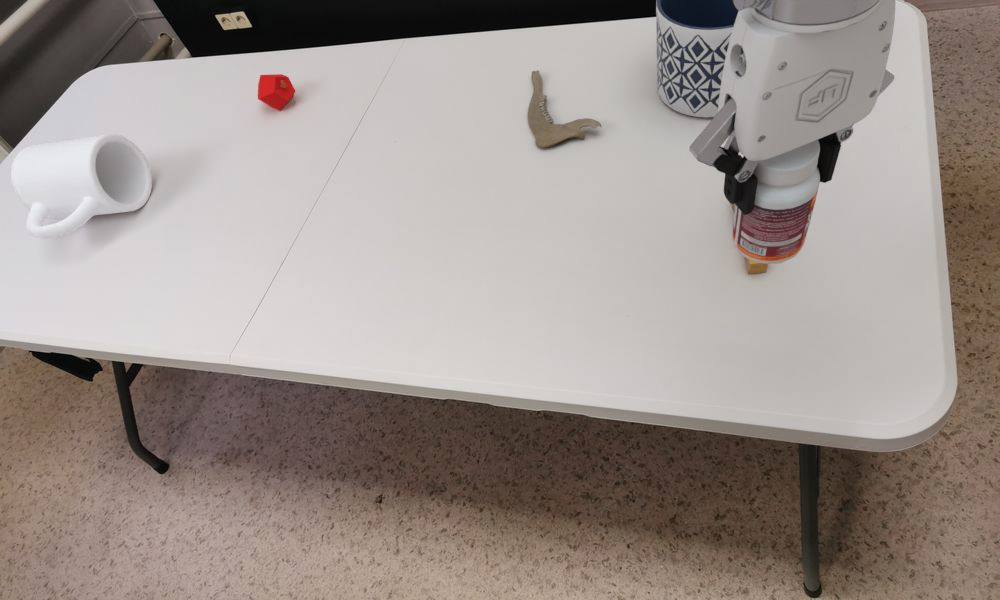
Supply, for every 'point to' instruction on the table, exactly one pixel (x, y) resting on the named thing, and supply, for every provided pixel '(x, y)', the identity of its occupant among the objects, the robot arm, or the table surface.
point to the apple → (275, 90)
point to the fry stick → (753, 262)
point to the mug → (79, 181)
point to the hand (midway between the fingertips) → (777, 185)
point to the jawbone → (542, 120)
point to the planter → (692, 52)
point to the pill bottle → (779, 206)
